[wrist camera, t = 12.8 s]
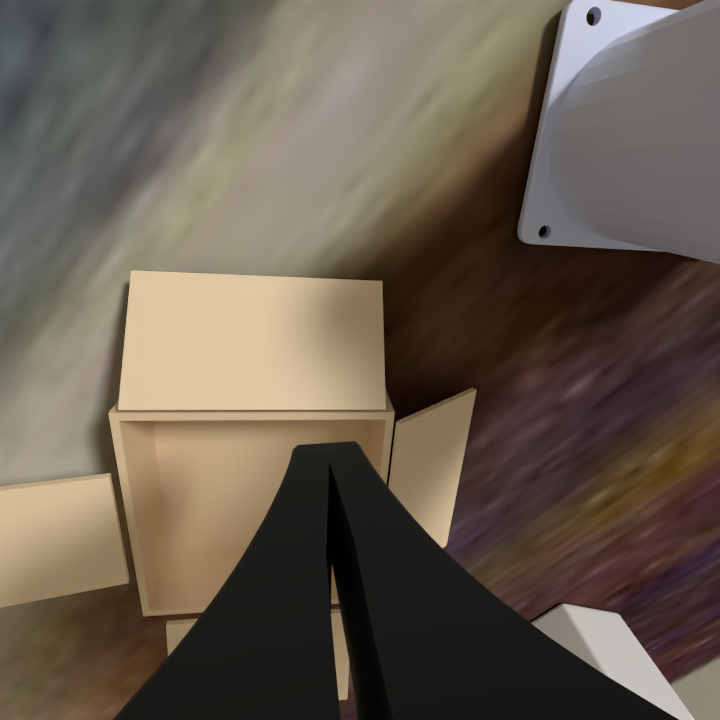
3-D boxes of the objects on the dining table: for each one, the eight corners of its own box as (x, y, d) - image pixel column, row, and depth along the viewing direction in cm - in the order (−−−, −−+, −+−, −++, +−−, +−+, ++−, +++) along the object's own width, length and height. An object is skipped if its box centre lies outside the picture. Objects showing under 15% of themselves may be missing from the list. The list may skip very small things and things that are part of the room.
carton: (379, 373, 20) (394, 412, 17) (362, 542, 24) (372, 601, 20) (141, 370, 18) (108, 413, 15) (165, 551, 22) (143, 616, 19)
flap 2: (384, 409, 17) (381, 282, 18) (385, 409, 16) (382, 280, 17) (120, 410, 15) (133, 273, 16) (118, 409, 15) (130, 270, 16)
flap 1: (109, 477, 16) (-67, 498, 14) (128, 583, 18) (-24, 612, 16) (110, 473, 16) (-63, 494, 14) (129, 578, 18) (-21, 606, 16)
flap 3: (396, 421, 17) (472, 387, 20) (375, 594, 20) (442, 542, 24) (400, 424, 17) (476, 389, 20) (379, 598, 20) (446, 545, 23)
